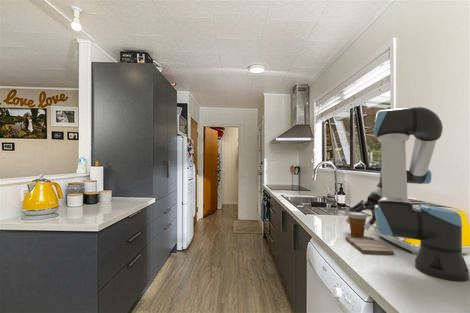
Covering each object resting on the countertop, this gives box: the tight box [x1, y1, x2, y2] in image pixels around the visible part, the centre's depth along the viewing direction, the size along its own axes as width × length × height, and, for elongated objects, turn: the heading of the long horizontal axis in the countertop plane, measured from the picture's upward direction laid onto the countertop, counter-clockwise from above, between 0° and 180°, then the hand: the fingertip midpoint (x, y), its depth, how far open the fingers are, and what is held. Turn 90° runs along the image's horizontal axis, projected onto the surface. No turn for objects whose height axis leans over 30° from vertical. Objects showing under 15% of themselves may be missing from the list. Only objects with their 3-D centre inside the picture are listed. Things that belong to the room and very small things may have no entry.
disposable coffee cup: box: [347, 211, 368, 237], centre depth 131 cm, size 10×10×12 cm
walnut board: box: [345, 236, 395, 255], centre depth 113 cm, size 19×13×2 cm
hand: (355, 225), depth 131 cm, fingers open, 13 cm apart
